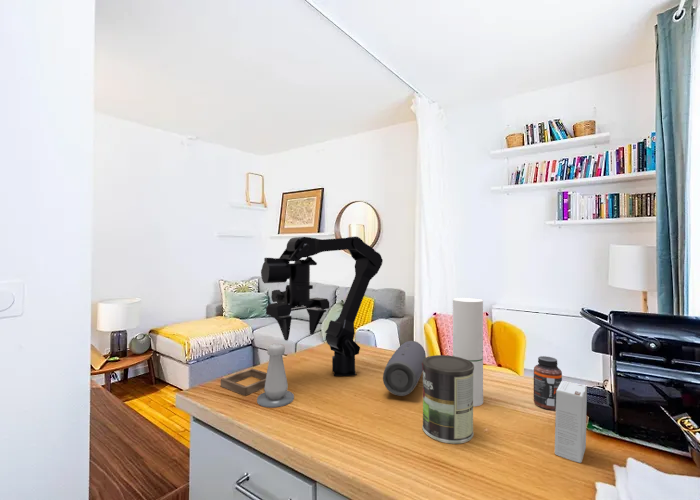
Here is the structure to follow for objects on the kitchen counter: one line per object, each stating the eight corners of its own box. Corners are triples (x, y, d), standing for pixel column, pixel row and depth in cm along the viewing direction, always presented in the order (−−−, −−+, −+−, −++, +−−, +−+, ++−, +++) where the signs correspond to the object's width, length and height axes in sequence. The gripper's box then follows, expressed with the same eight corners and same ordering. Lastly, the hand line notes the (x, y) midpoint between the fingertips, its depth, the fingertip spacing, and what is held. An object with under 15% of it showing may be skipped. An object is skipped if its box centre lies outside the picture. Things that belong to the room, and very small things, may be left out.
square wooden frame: (252, 375, 102) (252, 368, 102) (276, 382, 96) (276, 375, 96) (220, 386, 94) (220, 379, 94) (244, 395, 88) (244, 388, 88)
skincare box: (559, 441, 67) (559, 379, 67) (587, 449, 64) (587, 384, 64) (553, 455, 62) (553, 388, 62) (583, 465, 59) (583, 395, 59)
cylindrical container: (484, 397, 87) (483, 298, 87) (482, 408, 80) (481, 302, 81) (455, 392, 90) (454, 297, 90) (450, 403, 83) (450, 300, 84)
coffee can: (427, 444, 66) (427, 370, 66) (418, 418, 76) (418, 354, 76) (481, 445, 65) (481, 371, 65) (465, 418, 76) (465, 355, 76)
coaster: (295, 391, 90) (295, 389, 90) (291, 407, 81) (291, 404, 81) (261, 392, 90) (261, 390, 90) (253, 408, 81) (253, 405, 81)
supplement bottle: (559, 413, 78) (558, 364, 78) (530, 405, 82) (530, 358, 82) (564, 405, 82) (564, 358, 82) (537, 397, 86) (537, 353, 86)
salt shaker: (285, 390, 89) (285, 340, 90) (290, 399, 84) (290, 346, 84) (262, 394, 87) (262, 343, 87) (266, 403, 82) (266, 349, 82)
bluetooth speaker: (418, 403, 83) (418, 362, 83) (380, 398, 86) (380, 359, 86) (427, 372, 105) (427, 340, 105) (397, 369, 108) (397, 337, 108)
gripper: (305, 278, 108) (305, 327, 108) (254, 282, 94) (254, 338, 94) (330, 280, 101) (330, 333, 101) (279, 284, 87) (278, 345, 87)
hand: (299, 337), depth 96 cm, fingers open, 9 cm apart
